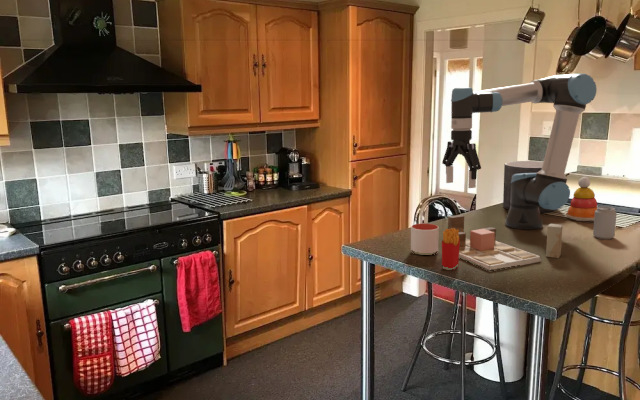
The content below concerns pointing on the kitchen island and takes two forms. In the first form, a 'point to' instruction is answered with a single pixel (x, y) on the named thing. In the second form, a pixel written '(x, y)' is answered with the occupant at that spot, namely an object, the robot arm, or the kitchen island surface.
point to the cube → (482, 239)
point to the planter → (518, 168)
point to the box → (554, 240)
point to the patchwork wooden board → (497, 245)
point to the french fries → (450, 248)
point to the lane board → (503, 258)
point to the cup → (424, 238)
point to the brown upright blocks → (458, 224)
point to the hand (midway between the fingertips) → (460, 185)
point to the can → (604, 223)
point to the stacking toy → (583, 202)
